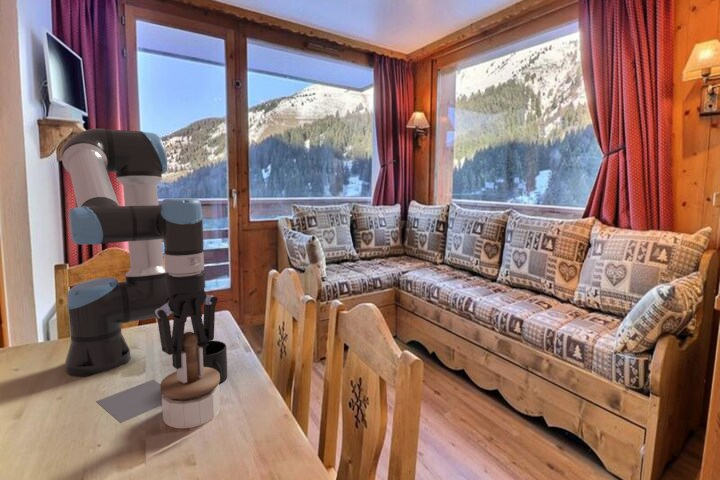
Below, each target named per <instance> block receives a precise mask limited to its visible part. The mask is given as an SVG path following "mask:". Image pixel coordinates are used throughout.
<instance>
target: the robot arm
mask: <svg viewBox="0 0 720 480" xmlns="http://www.w3.org/2000/svg"><path fill="white" fill-rule="evenodd" d="M163 142H164V141H163V140H162V138H161V137H160V136H159V135H158V134H156V133H154V132H146V131H142V130H140V131H137V130H123V129H110V128H109V129H107V128H91V129H85V130H83V131H81V132H78V133H76V134H75V135H73V136H72V137H71V138H70V139H68V140H67V142H66V143H65V144H64V146H63V148H62V151H61V162H62V165H63V167H64V169H65V171H66V172H67V173H68V174H69V175H70V180H71V183H72V188H73V193H74V197H75V202H76V205H77V206H76V207H73V208H70V209H69V211H68V221H69V231H70V236H71V240H72V242H73V243H74V244H75V245H95V246H96V245H102V244H103V245H104V244H115V243H124V242H125V243H126V242H128V252H129V263H130V264H129V265H130V268H129V270H128V271H127V272H126V273H125V275H124V276H125V281H120V282H119V280H118V279H117V278H116V277H111V276H109V277H99V278H95V279H90V280H87V281H83V282H81V283H78V284H76V285H74V286H72V287H71V288H70V289H69V290H68V291H67V298H66V299H67V305H66V309H68V310H67V311H68V319H69V322H68V323H69V330H70V331H69V332H70V334H69V335H70V344H69V349H68V352H67V355H66V357H65V363H64V365H65V372H66V373H67V374H68V375H71V376H74V377H76V376H77V377H89V376H94V375H96V374H100V373H104V372H108V371H111V370H114V369H117V368H119V367H121V366H123V365H126V364H128V363H129V361H130V360H131V350H130V347H129V345H128V343H127V341H126V340H125V337H124V335H123V333H122V325H123V324H127V323H133V322H138V321H144V320H148V319H153V318H154V319H155V318H156V321H157V324H158V325H157V326H158V327H157V328H158V333H159V338H160V345H161V346H160V347H161V351H162V352H163V353H166V354H167V355H169V356H171V357H172V358H171V361H172V367H173V368H174V369H176V371H177V379H178V380H179V381H181V382H183V383H186V382H187V366H186V353H185V352H182V347H183V338H184V333H185V328H186V327H185V326H186V322H187V319H188V317H190V322H191V325H192V330H193V331H192V332H193V333H195V334H196V335H197V337H198V342H197V351H198V371H199V376H203V375H204V368H203V359H205V358H206V347H207V346H208V345H209V343H208V342H209V341H214V339H215V321H216V320H215V319H216V318H215V317H216V316H215V315H216V305H217V303H218V299H219V298H218V297H217V296H214V295H212V294H207V292H206V291H205V289H206V275H205V272H204V271H203V270H204V269H205V257H204V256H205V255H204V229H203V228H204V226H203V225H204V224H203V222H204V221H203V219H204V214H203V210H202V209H203V208H202V202H201V200H200V199H198V198H195V197H193V198H192V197H171V198H164V199H163V200H162V202H161V203H160V204H159V197H158V196H159V195H158V186H157V185H158V184H159V182H161V180H162V179H163V176H162V175H163V174H166V173H167V171H168V156H167V151H166V148H165V144H164V143H163ZM108 173H115V178H116V181H117V182H119V183H120V184H122V189H123V198H124V205H123V206H122V205H120V204H119V201H118V198H117V196H116V193H115V190H114V188H113V184H112V182H111V180H110V179H111V178H110V177H109V174H108ZM162 240H163V241H162ZM163 249H164V253H163ZM202 306H203V312H202ZM171 314H172V320H173V324H172V328H171V323H170V319H169V316H170V315H171ZM171 329H172V330H171Z"/></svg>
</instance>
